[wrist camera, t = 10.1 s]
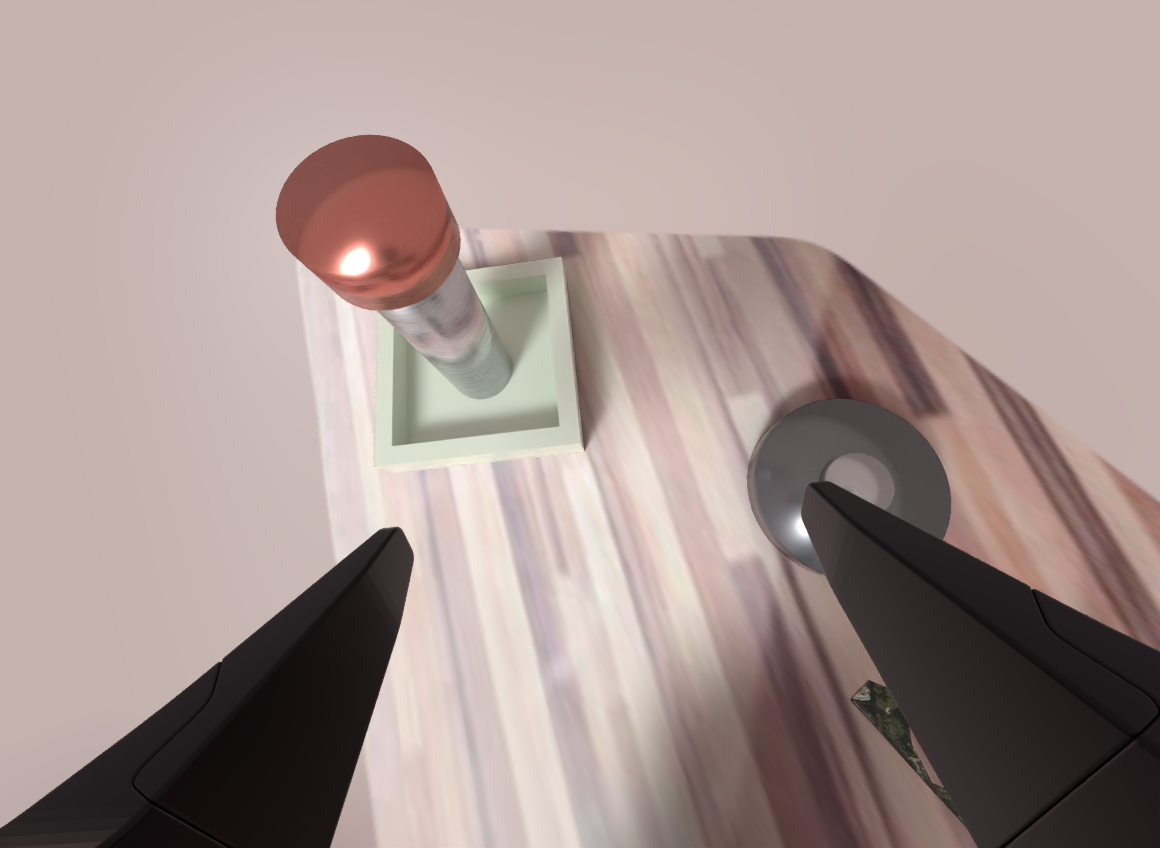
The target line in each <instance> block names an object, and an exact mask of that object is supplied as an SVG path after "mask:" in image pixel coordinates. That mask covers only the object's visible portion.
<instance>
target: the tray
mask: <svg viewBox="0 0 1160 848" xmlns="http://www.w3.org/2000/svg"><path fill="white" fill-rule="evenodd" d="M466 273H467V275H468V277H469V279H470V281H471V283H472V285H473V287H474V289H475V291H476V293H477V295H478V297H479V298H480V300H481V302H482V304H483V306H484V308H485V310H486V312H487V314H488V316H489V318H490V320H491V322H492V324H493V326H494V328H495V329H496V331H497V333H498V335H499V337H500V339H501V341H502V343H503V345H504V347H505V349H506V351H507V353H508V355H509V357H510V359H511V362H512V375H511V378H510V381H509V383H508V384H507V386H506V387H505V388H504V389H503V390H502V391H501V392H500V393H499V394H497V395H495V396H493V397H491V398H487V399H473V398H469V397H467V396H465V395H463V394H462V393H461V392H460V391H459V390H458V389H457V388H455V387H454V386H453V385H452V384H451V383H450V382H449V381H448V380H447V379H446V378H445V377H444V376H443V375H442V374H441V373H440V372H439V371H438V370H437V369H436V368H435V367H434V366H433V365H432V364H431V363H430V362H429V361H428V360H427V359H426V358H425V357H424V356H423V355H422V354H421V353H420V352H419V351H418V350H417V349H416V348H415V347H413V346H412V345H411V344H410V343H409V342H408V341H407V340H406V339H405V338H404V337H403V336H402V335H401V334H400V333H399V332H398V331H397V330H396V329H395V328H394V327H393V326H392V325H391V324H390V323H389V322H388V321H387V320H386V319H385V318H384V317H383V316H382V315H381V314H380V313H379V312H378V311H377V340H376V379H375V417H374V456H373V467H375V468H379V469H383V470H388V471H392V472H396V473H402V472H410V471H419V470H428V469H437V468H445V467H454V466H463V465H472V464H480V463H489V462H498V461H507V460H515V459H524V458H533V457H542V456H550V455H559V454H568V453H577V452H584V442H583V433H582V423H581V414H580V404H579V394H578V385H577V375H576V365H575V356H574V346H573V336H572V327H571V317H570V308H569V298H568V288H567V280H566V275H565V270H564V266H563V261H562V257H556V258H549V259H542V260H535V261H528V262H521V263H514V264H507V265H500V266H493V267H486V268H479V269H473V270H466Z"/></svg>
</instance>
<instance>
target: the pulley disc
mask: <svg viewBox="0 0 1160 848" xmlns="http://www.w3.org/2000/svg"><path fill="white" fill-rule="evenodd" d="M817 481H830V482H832V483H834V484H836V485H838V486H840V487H842V488H844V489H845V490H847V491H849V492H851V493H853V494H855V495H857V496H859V497H861V498H863V499H865V500H866V501H868V502H870V503H872V504H874V505H876V506H878V507H880V508H882V509H884V510H886V511H887V512H889V513H891V514H893V515H895V516H897V517H899V518H901V519H903V520H905V521H906V522H908V523H910V524H912V525H914V526H916V527H918V528H920V529H922V530H924V531H926V532H927V533H929V534H931V535H933V536H935V537H937V538H939V539H941V540H943V538H944V536H945V534H946V531H947V528H948V525H949V519H950V514H951V495H950V487H949V483H948V479H947V476H946V473H945V470H944V468H943V465H942V463H941V461H940V460H939V458H938V456H937V454H936V452H935V451H934V449H933V448H932V447H931V445H930V444H929V442H928V441H927V440H926V439H925V438H924V437H923V436H922V435H921V433H920V432H919V431H917V430H916V429H915V428H914V427H913V426H912V425H911V424H909V423H908V422H907V421H905V420H904V419H902V418H901V417H900V416H898V415H896V414H894V413H892V412H891V411H889V410H887V409H884V408H882V407H880V406H877V405H874V404H871V403H868V402H864V401H858V400H853V399H827V400H822V401H817V402H813V403H810V404H807V405H805V406H803V407H800V408H798V409H796V410H795V411H793V412H791V413H790V414H788V415H787V416H785V417H784V418H782V419H781V420H779V421H778V422H776V423H775V424H774V425H773V426H771V427H770V428H769V429H768V430H767V431H766V432H765V434H764V435H763V436H762V437H761V439H760V440H759V442H758V443H757V445H756V447H755V449H754V451H753V454H752V456H751V460H750V463H749V468H748V475H747V488H748V495H749V500H750V504H751V508H752V511H753V513H754V515H755V518H756V520H757V522H758V524H759V526H760V527H761V529H762V531H763V532H764V534H765V535H766V536H767V538H768V539H769V540H770V541H771V543H772V544H773V545H774V546H775V547H776V548H777V549H778V550H779V551H780V552H782V553H783V554H784V555H785V556H786V557H787V558H789V559H790V560H792V561H793V562H795V563H796V564H798V565H800V566H802V567H804V568H806V569H807V570H809V571H812V572H815V573H818V574H820V575H824V576H826V575H825V573H824V571H823V568H822V566H821V564H820V561H819V559H818V557H817V554H816V552H815V550H814V547H813V545H812V543H811V540H810V538H809V536H808V533H807V531H806V529H805V526H804V524H803V522H802V518H801V507H802V502H803V497H804V491H805V487H806V485H807V484H808V483H810V482H817Z"/></svg>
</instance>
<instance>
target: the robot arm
mask: <svg viewBox="0 0 1160 848" xmlns="http://www.w3.org/2000/svg"><path fill="white" fill-rule="evenodd" d="M801 518H802V522H803V524H804V526H805V529H806V531H807V533H808V536H809V538H810V540H811V543H812V545H813V547H814V550H815V552H816V554H817V557H818V559H819V561H820V564H821V566H822V568H823V571H824V573H825V575H826V577H827V580H828V582H829V584H830V586H831V588H832V590H833V592H834V594H835V596H836V597H837V599H838V601H839V603H840V604H841V606H842V608H843V610H844V612H845V613H846V615H847V617H848V619H849V620H850V622H851V624H852V626H853V627H854V629H855V631H856V633H857V635H858V636H859V638H860V640H861V642H862V643H863V645H864V647H865V649H866V650H867V652H868V654H869V656H870V657H871V659H872V661H873V663H874V665H875V666H876V668H877V670H878V672H879V673H880V675H881V677H882V679H883V680H884V682H885V684H886V686H887V688H888V689H889V691H890V693H891V695H892V696H893V698H894V700H895V702H896V703H897V705H898V707H899V709H900V710H901V712H902V714H903V716H904V718H905V719H906V721H907V723H908V725H909V726H910V728H911V730H912V732H913V733H914V735H915V737H916V739H917V741H918V742H919V744H920V746H921V748H922V749H923V751H924V753H925V755H926V756H927V758H928V760H929V762H930V763H931V765H932V767H933V769H934V771H935V772H936V774H937V776H938V778H939V779H940V781H941V783H942V785H943V786H944V788H945V790H946V792H947V794H948V795H949V797H950V799H951V801H952V802H953V804H954V806H955V808H956V809H957V811H958V813H959V815H960V816H961V818H962V820H963V822H964V824H965V825H966V827H967V829H968V831H969V832H970V834H971V836H972V838H973V839H974V841H975V843H976V845H977V847H978V848H1160V651H1158V650H1156V649H1154V648H1152V647H1150V646H1148V645H1146V644H1144V643H1142V642H1139V641H1137V640H1135V639H1133V638H1131V637H1129V636H1127V635H1125V634H1123V633H1121V632H1119V631H1117V630H1114V629H1112V628H1110V627H1108V626H1106V625H1104V624H1102V623H1100V622H1099V621H1097V620H1095V619H1093V618H1091V617H1089V616H1087V615H1085V614H1083V613H1081V612H1079V611H1077V610H1075V609H1073V608H1071V607H1069V606H1067V605H1065V604H1063V603H1061V602H1059V601H1057V600H1056V599H1054V598H1052V597H1050V596H1048V595H1046V594H1044V593H1042V592H1040V591H1038V590H1036V589H1032V590H1031V588H1030V586H1028V585H1027V584H1025V583H1023V582H1021V581H1019V580H1017V579H1015V578H1013V577H1011V576H1009V575H1008V574H1006V573H1004V572H1002V571H1000V570H998V569H996V568H994V567H992V566H990V565H988V564H987V563H985V562H983V561H981V560H979V559H977V558H975V557H973V556H971V555H969V554H968V553H966V552H964V551H962V550H960V549H958V548H956V547H954V546H952V545H950V544H948V543H947V542H945V541H943V540H941V539H939V538H937V537H935V536H933V535H931V534H929V533H927V532H926V531H924V530H922V529H920V528H918V527H916V526H914V525H912V524H910V523H908V522H906V521H905V520H903V519H901V518H899V517H897V516H895V515H893V514H891V513H889V512H887V511H886V510H884V509H882V508H880V507H878V506H876V505H874V504H872V503H870V502H868V501H866V500H865V499H863V498H861V497H859V496H857V495H855V494H853V493H851V492H849V491H847V490H845V489H844V488H842V487H840V486H838V485H836V484H834V483H832V482H830V481H817V482H810V483H808V484H807V485H806V487H805V491H804V497H803V502H802V507H801ZM413 562H414V554H413V551H412V548H411V546H410V544H409V542H408V540H407V538H406V536H405V534H404V532H403V530H402V529H401V528H399V527H390V528H383V529H380V530H379V531H377V532H376V533H375V534H374V535H372V536H371V537H370V538H369V539H368V540H366V541H365V542H364V543H363V544H361V545H360V546H359V547H358V548H357V549H355V550H354V551H353V552H352V553H351V554H349V555H348V556H347V557H346V558H344V559H343V560H342V561H341V562H340V563H338V564H337V565H336V566H335V567H334V568H332V569H331V570H330V571H329V572H328V573H326V574H325V575H324V576H323V577H321V578H320V579H319V580H318V581H317V582H315V583H314V584H313V585H312V586H310V587H309V588H308V589H307V590H306V591H304V592H303V593H302V594H301V595H300V596H298V597H297V598H296V599H295V600H294V601H292V602H291V603H290V604H289V605H287V606H286V607H285V608H284V609H283V610H282V611H280V612H279V613H278V614H277V615H275V616H274V617H273V618H272V619H270V620H269V621H268V622H267V623H265V624H264V625H263V626H262V627H261V628H259V629H258V630H257V631H256V632H255V633H253V634H252V635H251V636H250V637H249V638H247V639H246V640H245V641H244V642H243V643H241V644H240V645H239V646H238V647H236V648H235V649H234V650H233V651H231V652H230V653H229V654H228V655H227V656H225V657H224V658H223V660H222V662H218V663H217V664H215V665H214V666H213V667H212V668H211V669H209V670H208V671H207V672H206V673H205V674H203V675H202V676H201V677H200V678H199V679H197V680H196V681H195V682H194V683H192V684H191V685H190V686H189V687H188V688H186V689H185V690H184V691H182V692H181V693H180V694H179V695H178V696H176V697H175V698H174V699H172V700H171V701H170V702H169V703H168V704H166V705H165V706H164V707H162V708H161V709H160V710H159V711H157V712H156V713H155V714H153V715H152V716H151V717H149V718H148V719H147V720H146V721H144V722H143V723H142V724H140V725H139V726H138V727H136V728H135V729H134V730H132V731H131V732H130V733H128V734H127V735H126V736H124V737H123V738H122V739H120V740H119V741H118V742H117V743H115V744H114V745H113V746H111V747H110V748H108V749H107V750H106V751H104V752H103V753H102V754H100V755H99V756H98V757H96V758H95V759H94V760H92V761H91V762H90V763H88V764H87V765H86V766H84V767H83V768H82V769H81V770H79V771H78V772H76V773H75V774H74V775H72V776H71V777H70V778H69V779H67V780H66V781H64V782H63V783H62V784H61V785H59V786H58V787H56V788H55V789H54V790H52V791H51V792H50V793H48V794H47V795H46V796H44V797H43V798H42V799H40V800H39V801H38V802H36V803H35V804H34V805H32V806H31V807H30V808H28V809H27V810H26V811H24V812H23V813H22V814H20V815H19V816H17V817H16V818H15V819H13V820H12V821H10V822H9V823H8V824H6V825H5V826H3V827H2V828H0V848H330V846H331V843H332V840H333V837H334V834H335V830H336V827H337V824H338V821H339V818H340V815H341V812H342V808H343V805H344V802H345V799H346V796H347V792H348V789H349V786H350V783H351V780H352V777H353V774H354V771H355V767H356V764H357V761H358V758H359V755H360V752H361V749H362V745H363V742H364V739H365V736H366V733H367V730H368V726H369V723H370V720H371V717H372V714H373V711H374V708H375V704H376V701H377V698H378V695H379V692H380V689H381V685H382V682H383V679H384V676H385V673H386V670H387V667H388V663H389V660H390V657H391V654H392V651H393V648H394V644H395V641H396V638H397V635H398V631H399V628H400V624H401V620H402V616H403V611H404V606H405V601H406V596H407V591H408V587H409V582H410V577H411V572H412V567H413Z"/></svg>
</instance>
